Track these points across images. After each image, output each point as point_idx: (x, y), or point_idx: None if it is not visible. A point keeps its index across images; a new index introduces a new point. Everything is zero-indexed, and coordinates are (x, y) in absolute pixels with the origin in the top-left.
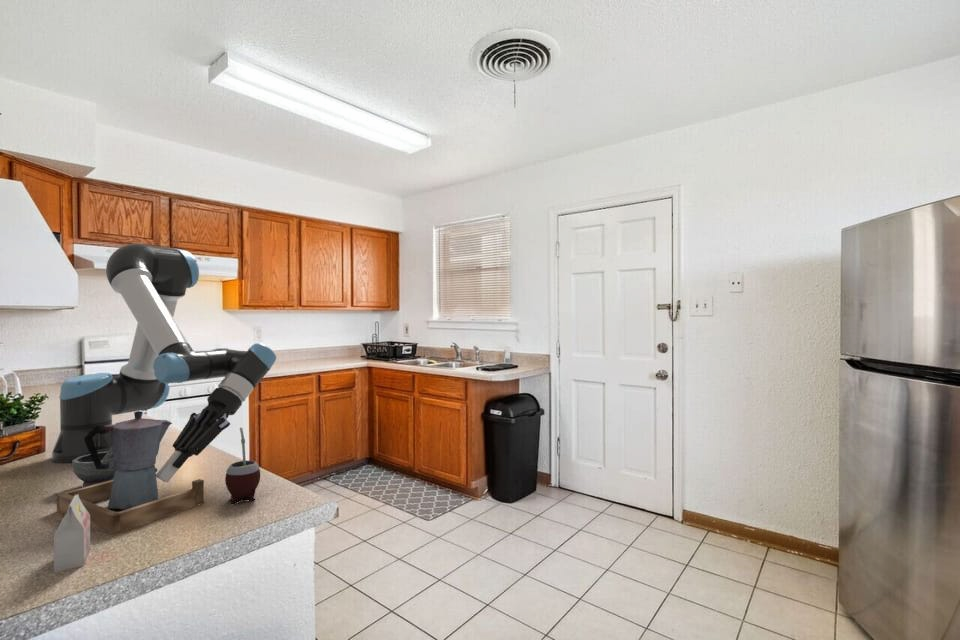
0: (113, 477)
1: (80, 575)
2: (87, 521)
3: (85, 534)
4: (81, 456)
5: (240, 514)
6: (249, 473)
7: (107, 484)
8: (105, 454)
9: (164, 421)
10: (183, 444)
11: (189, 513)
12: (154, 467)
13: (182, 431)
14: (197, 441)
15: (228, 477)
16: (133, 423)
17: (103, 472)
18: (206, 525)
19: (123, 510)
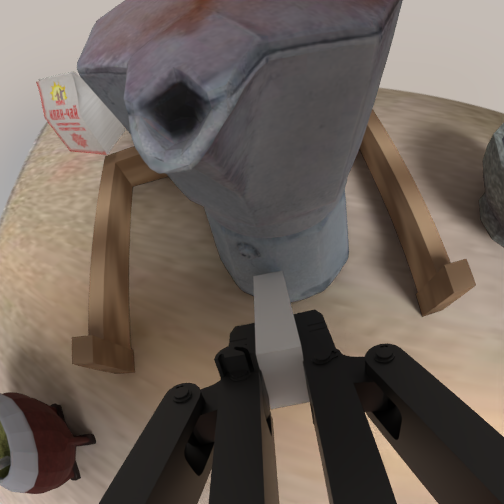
0: None
1: (54, 150)
2: (64, 116)
3: (59, 126)
4: None
5: (11, 375)
6: None
7: (394, 180)
8: None
9: (131, 73)
10: (310, 396)
11: (86, 316)
12: (233, 236)
13: (471, 423)
14: (153, 441)
15: (7, 393)
16: None
17: (487, 185)
18: (20, 307)
19: (113, 172)
